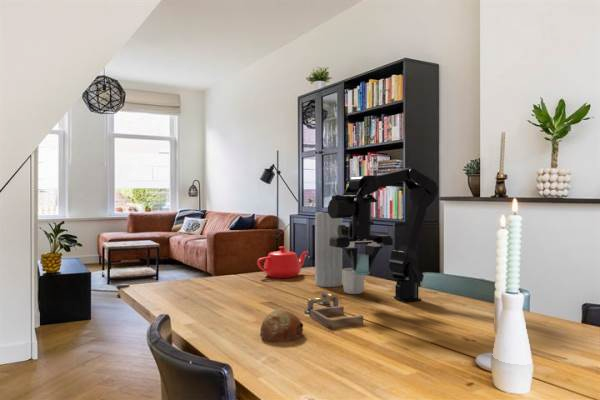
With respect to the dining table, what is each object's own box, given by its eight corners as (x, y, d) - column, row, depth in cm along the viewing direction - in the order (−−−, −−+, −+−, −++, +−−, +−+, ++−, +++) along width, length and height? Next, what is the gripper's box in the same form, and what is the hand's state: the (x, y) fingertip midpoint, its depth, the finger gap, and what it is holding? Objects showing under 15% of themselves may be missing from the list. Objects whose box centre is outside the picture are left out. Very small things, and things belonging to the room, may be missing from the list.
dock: (341, 313, 129) (341, 306, 129) (363, 324, 118) (363, 316, 118) (309, 316, 125) (309, 309, 125) (328, 328, 114) (328, 320, 114)
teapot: (267, 282, 175) (267, 250, 175) (248, 276, 188) (248, 246, 187) (319, 275, 189) (319, 246, 189) (298, 270, 202) (298, 243, 202)
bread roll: (267, 344, 113) (253, 316, 113) (304, 326, 114) (291, 297, 113) (268, 359, 103) (253, 327, 103) (309, 338, 104) (294, 307, 103)
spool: (364, 271, 140) (364, 253, 140) (372, 274, 135) (372, 255, 135) (349, 272, 138) (349, 254, 138) (357, 275, 133) (357, 256, 133)
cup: (364, 297, 148) (364, 273, 148) (339, 296, 149) (339, 272, 149) (365, 291, 158) (366, 268, 158) (343, 290, 160) (343, 267, 160)
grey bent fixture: (326, 301, 142) (326, 289, 142) (344, 310, 132) (344, 297, 131) (292, 305, 138) (292, 292, 138) (307, 314, 127) (307, 301, 127)
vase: (324, 281, 176) (324, 211, 176) (347, 284, 170) (347, 211, 170) (310, 285, 168) (310, 212, 168) (333, 288, 162) (333, 212, 162)
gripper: (374, 215, 147) (374, 264, 147) (321, 216, 140) (321, 267, 141) (393, 217, 137) (393, 269, 137) (337, 218, 130) (337, 273, 130)
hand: (361, 269), depth 137 cm, fingers closed on spool, 4 cm apart
